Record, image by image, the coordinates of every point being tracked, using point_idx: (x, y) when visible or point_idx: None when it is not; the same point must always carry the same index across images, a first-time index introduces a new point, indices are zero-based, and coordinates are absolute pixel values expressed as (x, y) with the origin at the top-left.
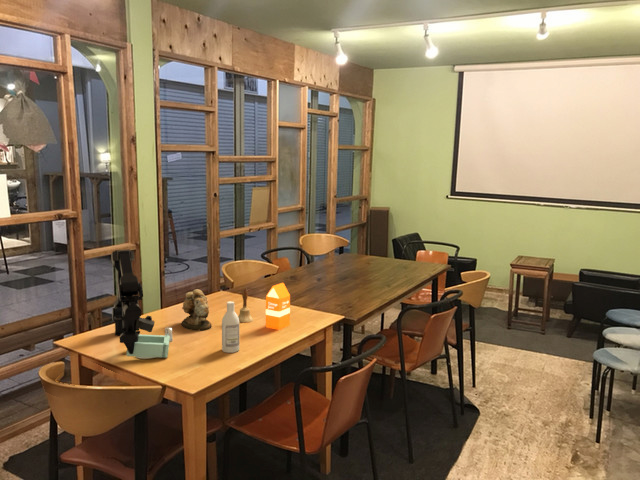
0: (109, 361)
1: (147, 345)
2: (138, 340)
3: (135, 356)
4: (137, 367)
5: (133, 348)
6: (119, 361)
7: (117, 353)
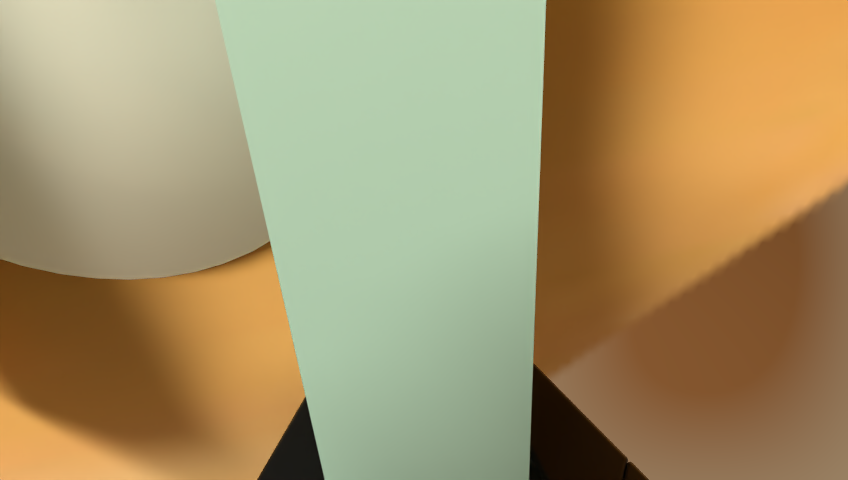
0: None
1: (519, 58)
2: None
3: (263, 240)
4: (781, 107)
5: (579, 415)
6: None
7: (135, 467)
